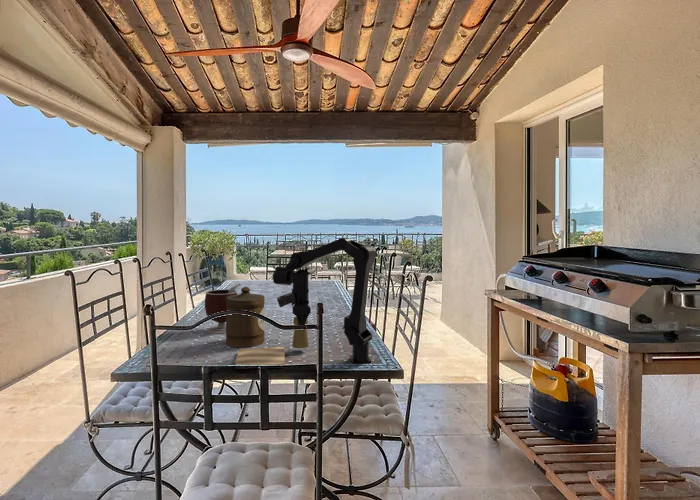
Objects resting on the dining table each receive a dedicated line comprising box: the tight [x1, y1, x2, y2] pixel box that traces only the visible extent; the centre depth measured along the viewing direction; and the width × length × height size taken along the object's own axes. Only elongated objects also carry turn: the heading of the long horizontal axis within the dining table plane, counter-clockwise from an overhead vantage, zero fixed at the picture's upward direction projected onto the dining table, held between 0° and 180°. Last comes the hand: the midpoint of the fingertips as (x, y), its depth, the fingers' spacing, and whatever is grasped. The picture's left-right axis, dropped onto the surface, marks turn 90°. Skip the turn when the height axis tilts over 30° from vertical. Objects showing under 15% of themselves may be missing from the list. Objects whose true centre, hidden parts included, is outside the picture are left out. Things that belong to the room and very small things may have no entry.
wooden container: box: [225, 286, 266, 348], centre depth 165 cm, size 15×15×22 cm
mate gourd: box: [204, 283, 241, 335], centre depth 183 cm, size 16×14×20 cm
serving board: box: [234, 346, 286, 366], centre depth 144 cm, size 18×16×2 cm
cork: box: [292, 316, 310, 349], centre depth 153 cm, size 6×6×11 cm
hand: (300, 328), depth 153 cm, fingers closed on cork, 5 cm apart
